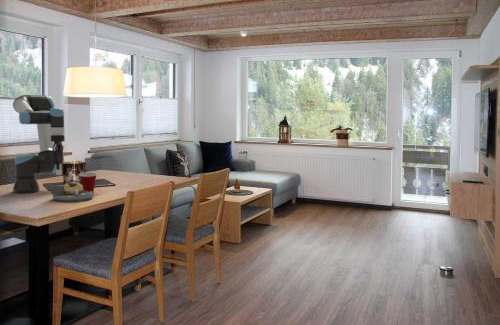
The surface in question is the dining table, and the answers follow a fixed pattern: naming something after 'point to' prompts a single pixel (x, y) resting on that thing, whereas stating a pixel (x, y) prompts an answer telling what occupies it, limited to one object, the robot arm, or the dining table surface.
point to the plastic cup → (88, 180)
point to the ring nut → (67, 188)
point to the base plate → (73, 196)
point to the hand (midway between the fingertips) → (58, 174)
